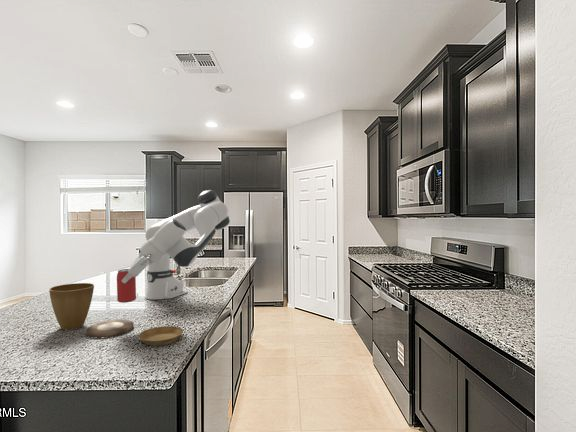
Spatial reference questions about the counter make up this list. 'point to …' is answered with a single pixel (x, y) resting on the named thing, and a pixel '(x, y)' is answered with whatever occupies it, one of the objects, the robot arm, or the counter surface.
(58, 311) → the plant pot
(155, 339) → the plant saucer
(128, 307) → the counter surface
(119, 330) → the disc
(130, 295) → the beer can
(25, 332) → the counter surface
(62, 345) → the counter surface
